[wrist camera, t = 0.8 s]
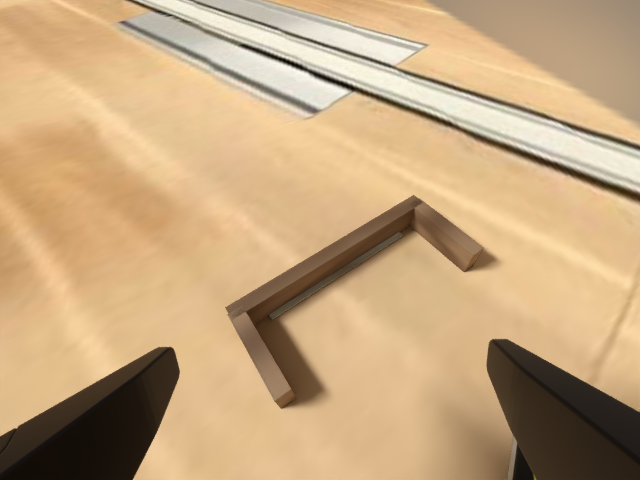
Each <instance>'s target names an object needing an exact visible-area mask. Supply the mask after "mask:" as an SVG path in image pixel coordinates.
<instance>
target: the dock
mask: <svg viewBox="0 0 640 480" xmlns="http://www.w3.org/2000/svg"><path fill="white" fill-rule="evenodd" d="M409 226H410V227H412V228H413V229H414V230H415V231H416V232H418V233H419V234H420V235H421V236H422V237H423V238H425V239H426V240H427V241H428V242H429V243H430V244H432V245H433V246H434V247H435V248H436V249H437V250H439V251H440V252H441V253H442V254H443V255H444V256H446V257H447V258H448V259H449V260H450V261H452V262H453V263H454V264H455V265H456V266H457V267H459V268H460V269H461V270H462V271H463V272H465V271H466V270H467V269H469V268H470V267H471V266H473V265H474V263H475V262H476V260H477V258H478V256H479V255H480V253H481V251H482V250H483V247H482V246H481V245H479V244H478V243H477V242H475V241H474V240H473V239H472V238H470V237H469V236H468V235H466V234H465V233H464V232H462V231H461V230H460V229H459V228H457V227H456V226H455V225H453V224H452V223H451V222H449V221H448V220H447V219H446V218H444V217H443V216H442V215H440V214H439V213H438V212H437V211H435V210H434V209H433V208H431V207H430V206H429V205H427V204H426V203H425V202H424V201H422V200H421V199H420V198H419V199H418V198H417V197H416V196H414V195H413V196H411V197H410V198H408V199H406V200H405V201H403V202H401V203H399V204H398V205H396V206H394V207H393V208H391V209H389V210H388V211H386V212H384V213H383V214H381V215H379V216H378V217H376V218H374V219H373V220H371V221H369V222H368V223H366V224H364V225H363V226H361V227H359V228H358V229H356V230H354V231H353V232H351V233H349V234H348V235H346V236H344V237H343V238H341V239H339V240H338V241H336V242H334V243H333V244H331V245H329V246H328V247H326V248H324V249H322V250H321V251H319V252H317V253H316V254H314V255H312V256H311V257H309V258H307V259H306V260H304V261H302V262H301V263H299V264H297V265H296V266H294V267H292V268H291V269H289V270H287V271H286V272H284V273H282V274H281V275H279V276H277V277H276V278H274V279H272V280H271V281H269V282H267V283H266V284H264V285H262V286H261V287H259V288H257V289H256V290H254V291H252V292H251V293H249V294H247V295H246V296H244V297H242V298H240V299H239V300H237V301H235V302H234V303H232V304H230V305H229V306H227V307H225V308H226V310H227V312H228V313H229V314H227V315H228V316H229V318H230V320H231V322H232V324H233V326H234V327H235V329H236V331H237V333H238V335H239V337H240V339H241V340H242V342H243V344H244V346H245V348H246V350H247V351H248V353H249V355H250V357H251V359H252V361H253V362H254V364H255V366H256V368H257V370H258V372H259V373H260V375H261V377H262V379H263V381H264V383H265V385H266V386H267V388H268V390H269V392H270V394H271V396H272V397H273V399H274V401H275V402H276V403H277V405H278V406H279V407H280V408H282V407H284V406H285V405H287V404H288V403H289V402H291V401H292V400H293V399H295V398H296V396H295V395H294V393H293V391H292V389H291V388H290V386H289V384H288V383H287V381H286V379H285V378H284V376H283V374H282V372H281V371H280V369H279V367H278V366H277V364H276V362H275V361H274V359H273V357H272V355H271V354H270V352H269V350H268V349H267V347H266V345H265V343H264V342H263V340H262V338H261V337H260V335H259V333H258V332H257V330H256V328H255V326H254V325H255V324H256V323H258V322H259V321H261V320H262V319H264V318H266V317H267V316H270V318H271V319H272V320H273V319H274V318H276V317H278V316H279V315H281V314H282V313H284V312H285V311H287V310H288V309H290V308H292V307H293V306H295V305H296V304H298V303H299V302H301V301H303V300H304V299H306V298H307V297H309V296H310V295H312V294H313V293H315V292H317V291H318V290H320V289H321V288H323V287H324V286H326V285H327V284H329V283H331V282H332V281H334V280H335V279H337V278H338V277H340V276H341V275H343V274H345V273H346V272H348V271H349V270H351V269H352V268H354V267H355V266H357V265H359V264H360V263H362V262H363V261H365V260H366V259H368V258H370V257H371V256H373V255H374V254H376V253H377V252H379V251H380V250H382V249H384V248H385V247H387V246H388V245H390V244H391V243H393V242H394V241H396V240H398V239H399V238H401V237H402V236H403V235H402V234H401V233H400V232H401V231H403V230H404V229H406V228H407V227H409Z"/></svg>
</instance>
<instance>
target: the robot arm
mask: <svg viewBox="0 0 640 480" xmlns="http://www.w3.org/2000/svg"><path fill="white" fill-rule="evenodd" d="M487 371H488V374H489V377H490V380H491V382H492V385H493V387H494V390H495V392H496V395H497V397H498V400H499V402H500V405H501V407H502V410H503V412H504V415H505V417H506V420H507V422H508V425H509V427H510V429H511V431H512V433H513V435H514V437H515V439H516V441H517V443H518V445H519V447H520V449H521V451H522V453H523V455H524V457H525V459H526V461H527V462H528V464H529V466H530V468H531V470H532V472H533V474H534V476H535V478H536V480H640V412H638V411H636V410H635V409H633V408H631V407H629V406H627V405H626V404H624V403H622V402H620V401H618V400H617V399H615V398H613V397H611V396H609V395H607V394H606V393H604V392H602V391H600V390H598V389H597V388H595V387H593V386H591V385H589V384H588V383H586V382H584V381H582V380H580V379H578V378H577V377H575V376H573V375H571V374H569V373H568V372H566V371H564V370H562V369H560V368H559V367H557V366H555V365H553V364H551V363H549V362H548V361H546V360H544V359H542V358H540V357H539V356H537V355H535V354H533V353H531V352H530V351H528V350H526V349H524V348H522V347H520V346H519V345H517V344H515V343H513V342H511V341H510V340H508V339H492V340H491V341H490V342H489V347H488V356H487ZM179 374H180V370H179V366H178V362H177V358H176V354H175V351H174V349H173V348H172V347H158V348H156V349H154V350H152V351H151V352H149V353H147V354H145V355H143V356H142V357H140V358H138V359H136V360H135V361H133V362H131V363H129V364H128V365H126V366H124V367H122V368H120V369H119V370H117V371H115V372H113V373H112V374H110V375H108V376H106V377H105V378H103V379H101V380H99V381H97V382H96V383H94V384H92V385H90V386H89V387H87V388H85V389H83V390H82V391H80V392H78V393H76V394H74V395H73V396H71V397H69V398H67V399H66V400H64V401H62V402H60V403H59V404H57V405H55V406H53V407H51V408H50V409H48V410H46V411H44V412H43V413H41V414H39V415H37V416H36V417H34V418H32V419H30V420H28V421H27V422H25V423H23V424H21V425H20V426H18V428H17V429H16V428H15V429H12V430H11V431H9V432H7V433H5V434H4V435H2V436H0V480H133V478H134V476H135V474H136V472H137V470H138V469H139V467H140V465H141V463H142V461H143V459H144V457H145V455H146V453H147V451H148V449H149V447H150V445H151V443H152V441H153V439H154V437H155V435H156V433H157V431H158V428H159V426H160V424H161V422H162V419H163V417H164V414H165V411H166V409H167V406H168V404H169V401H170V399H171V396H172V394H173V391H174V389H175V386H176V384H177V381H178V378H179Z"/></svg>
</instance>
